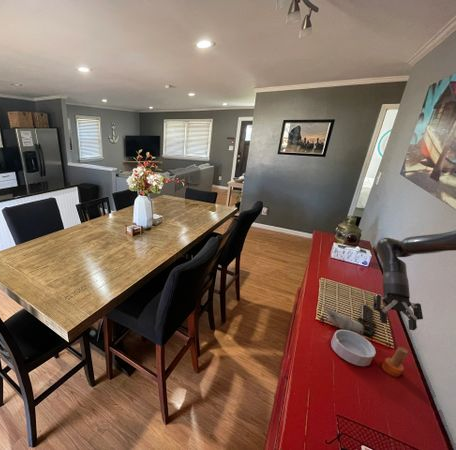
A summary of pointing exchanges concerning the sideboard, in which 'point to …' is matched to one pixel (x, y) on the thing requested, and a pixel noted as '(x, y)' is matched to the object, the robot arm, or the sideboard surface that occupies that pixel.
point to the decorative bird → (343, 321)
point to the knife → (364, 309)
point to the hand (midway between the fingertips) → (398, 326)
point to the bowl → (353, 347)
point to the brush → (395, 362)
